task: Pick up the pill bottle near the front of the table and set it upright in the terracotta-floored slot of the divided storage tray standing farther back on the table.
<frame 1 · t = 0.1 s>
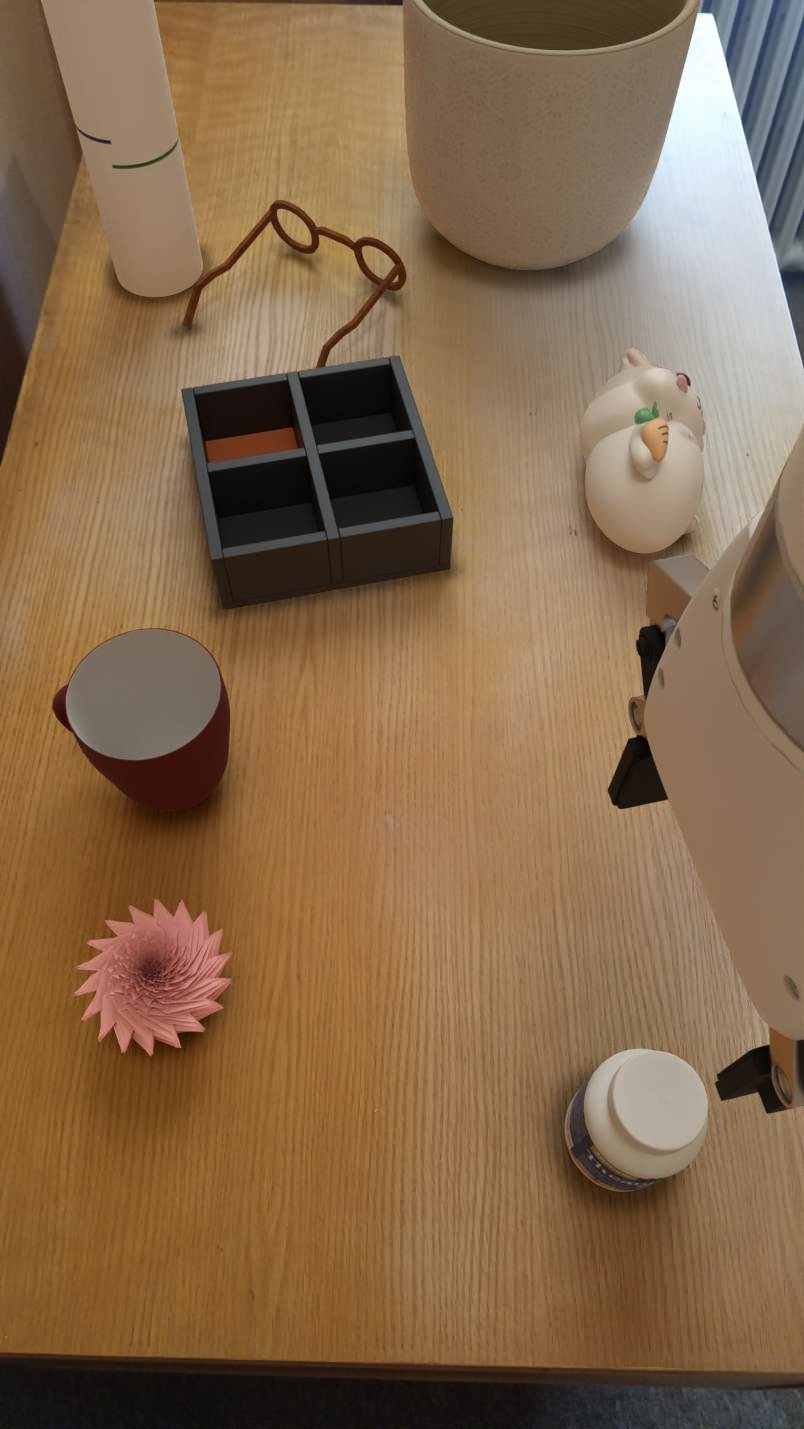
hand: (704, 925, 33), 23 cm above the table, tool pointing down, fingers open, 9 cm apart
white animal figurine: (632, 493, 72), on the table
divided storage tray: (316, 503, 71), on the table
planter: (522, 227, 87), on the table
pill bottle: (616, 1135, 51), on the table
cylindrical container: (160, 271, 84), on the table
mug: (161, 777, 61), on the table
flower: (168, 994, 54), on the table
glasses: (295, 316, 82), on the table
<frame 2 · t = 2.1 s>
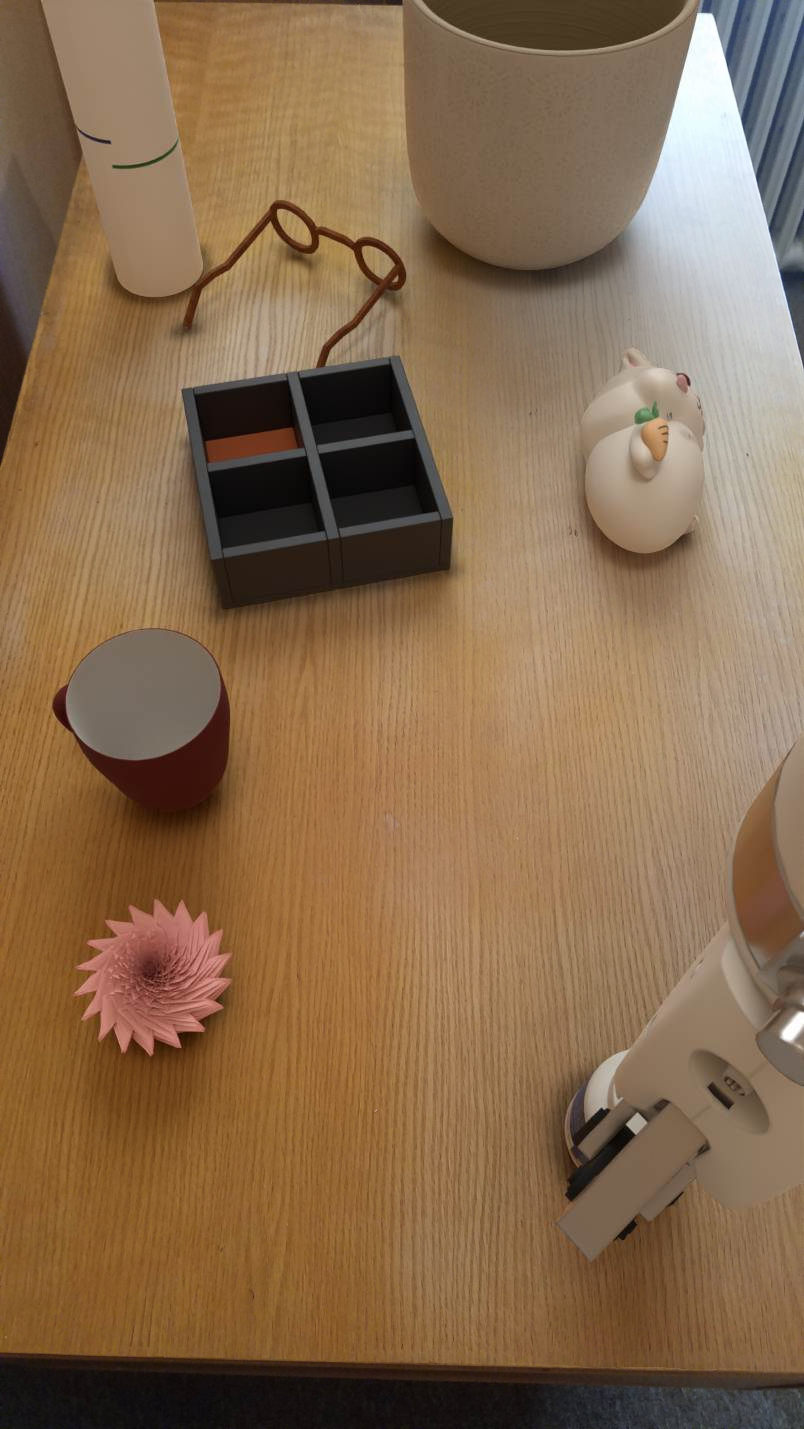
hand: (703, 1067, 35), 17 cm above the table, tool pointing down, fingers open, 9 cm apart
nothing on the table moved.
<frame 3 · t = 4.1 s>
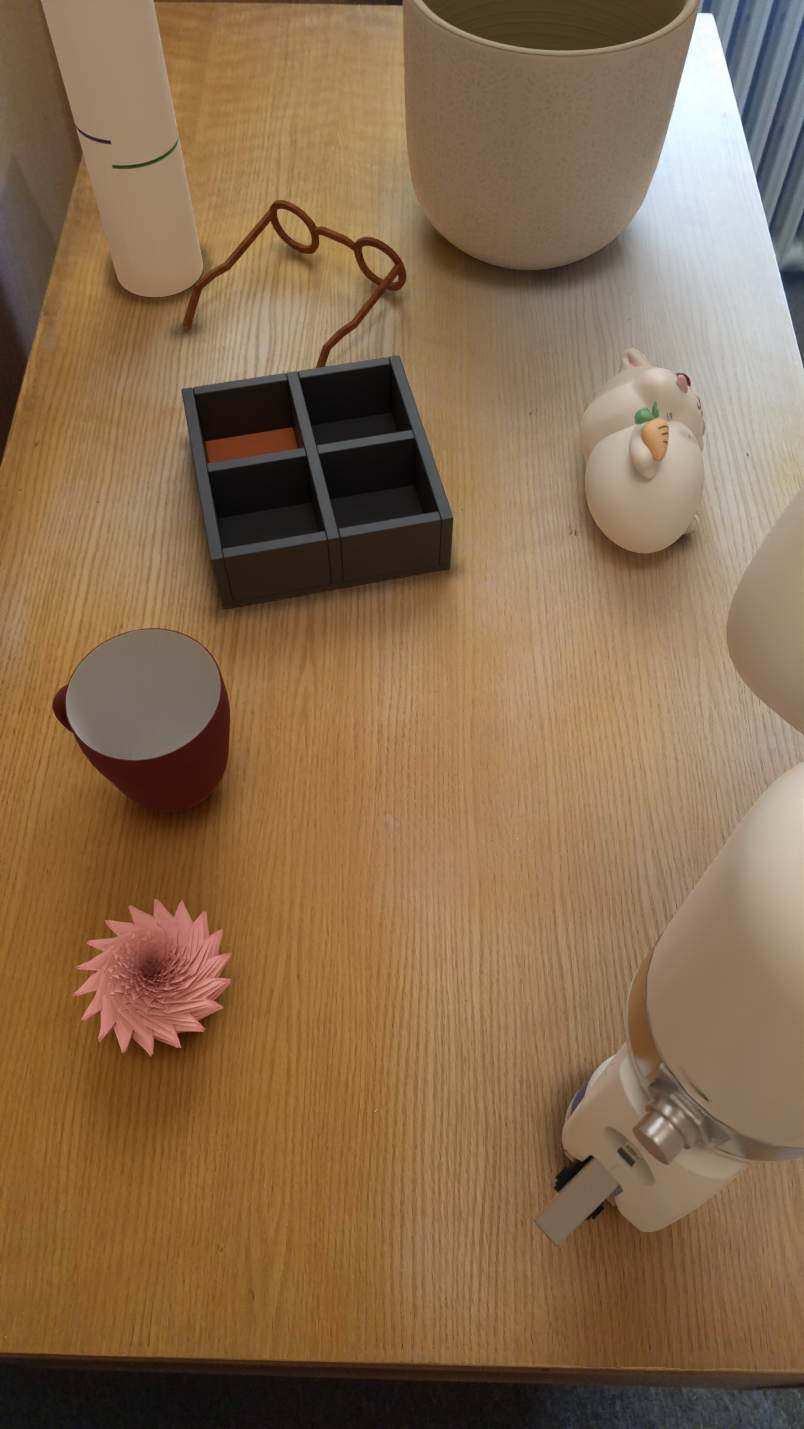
hand: (637, 1118, 46), 5 cm above the table, tool pointing down, fingers closed on pill bottle, 5 cm apart
pill bottle: (616, 1135, 51), on the table, touching gripper
everything else where it was.
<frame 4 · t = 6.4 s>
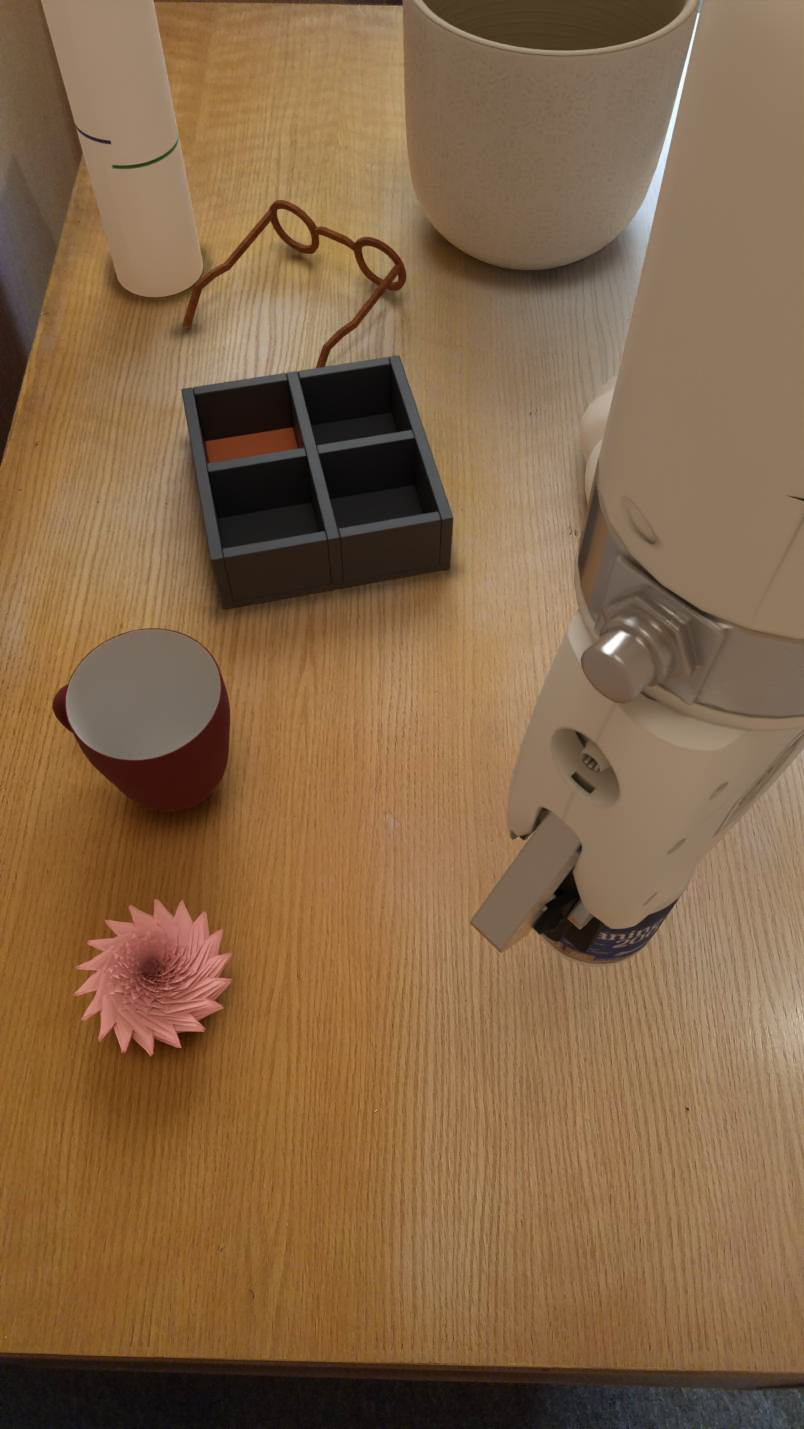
hand: (611, 860, 37), 19 cm above the table, tool pointing down, fingers closed on pill bottle, 5 cm apart
pill bottle: (590, 907, 42), point 14 cm above the table, touching gripper
everything else where it was.
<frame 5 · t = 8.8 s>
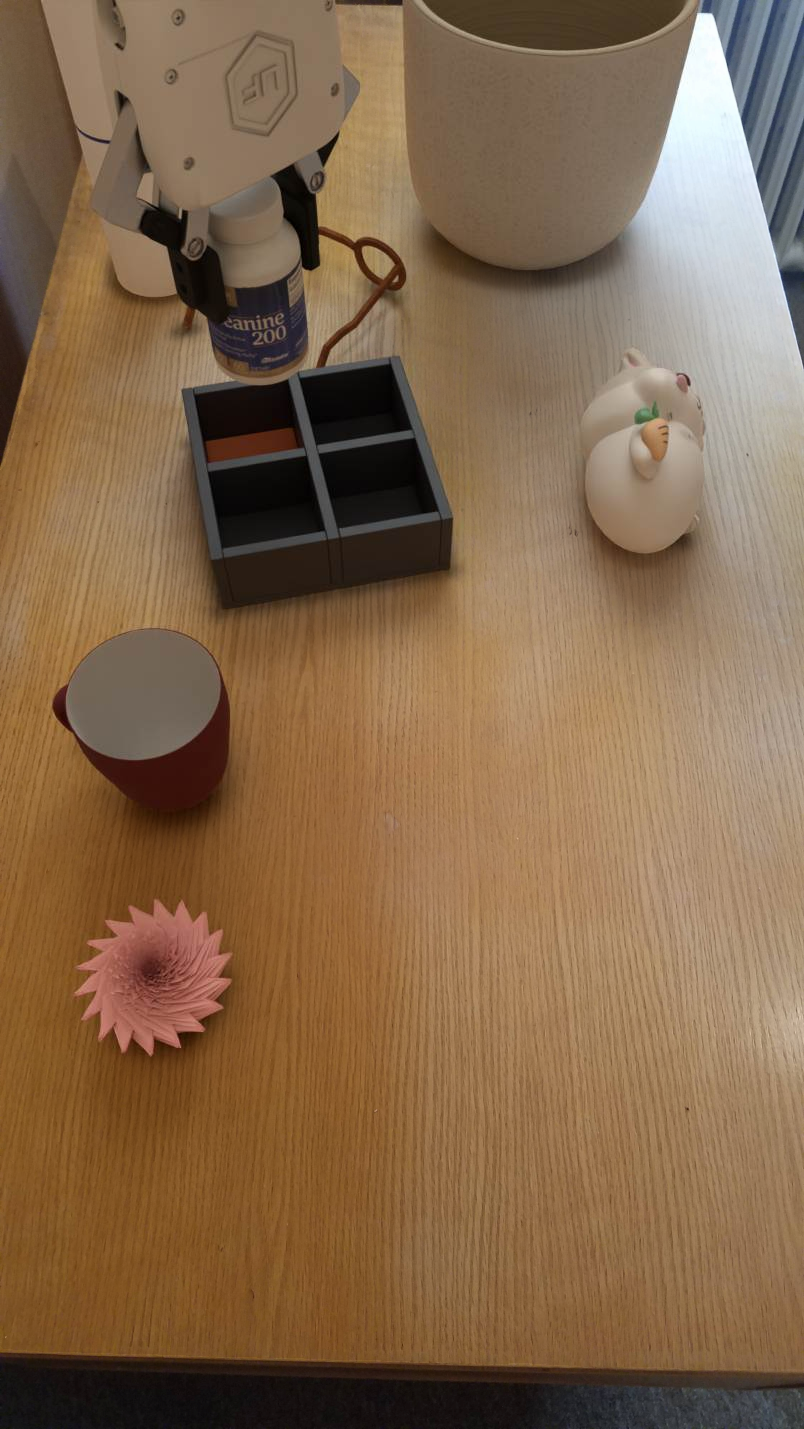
hand: (251, 280, 53), 20 cm above the table, tool pointing down, fingers closed on pill bottle, 5 cm apart
pill bottle: (263, 358, 58), point 15 cm above the table, touching gripper
everything else where it was.
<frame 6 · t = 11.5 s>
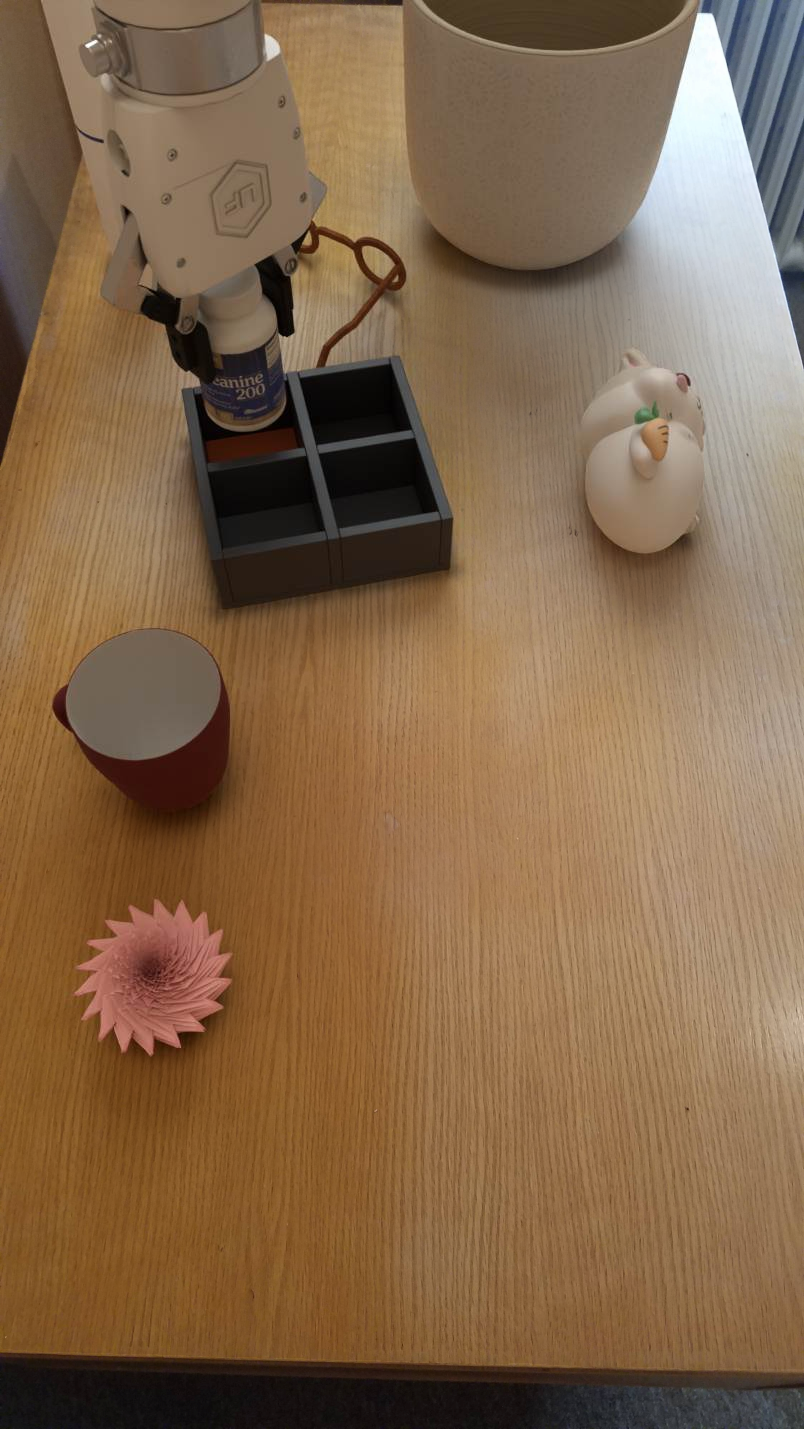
hand: (236, 345, 63), 11 cm above the table, tool pointing down, fingers closed on pill bottle, 5 cm apart
pill bottle: (246, 408, 67), point 6 cm above the table, touching gripper
everything else where it was.
when the fingers open (6 cm above the table, at t = 13.5 s): pill bottle stays where it is, resting on divided storage tray.
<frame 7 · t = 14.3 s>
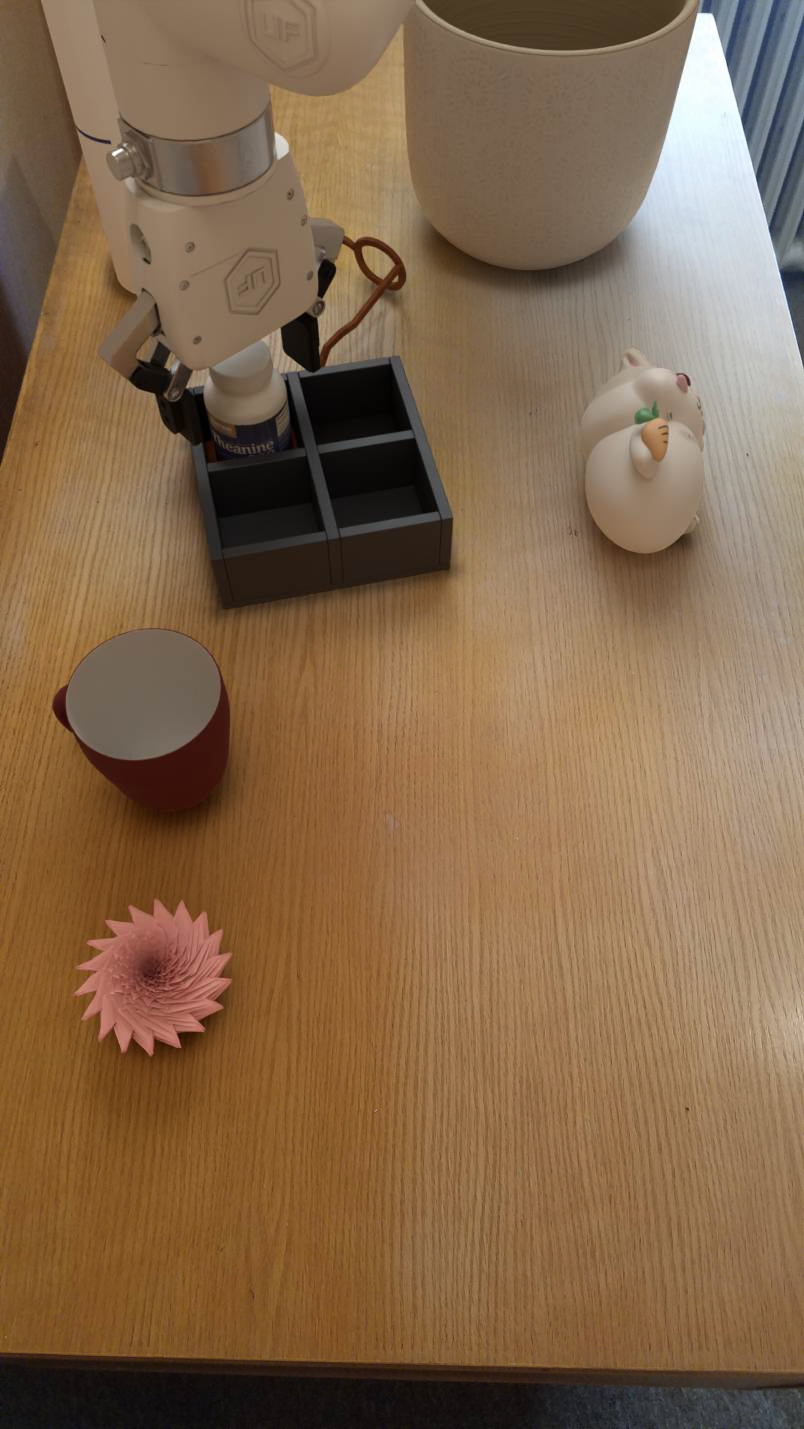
hand: (245, 396, 66), 7 cm above the table, tool pointing down, fingers open, 9 cm apart
pill bottle: (257, 468, 72), point 1 cm above the table, touching divided storage tray
everything else where it was.
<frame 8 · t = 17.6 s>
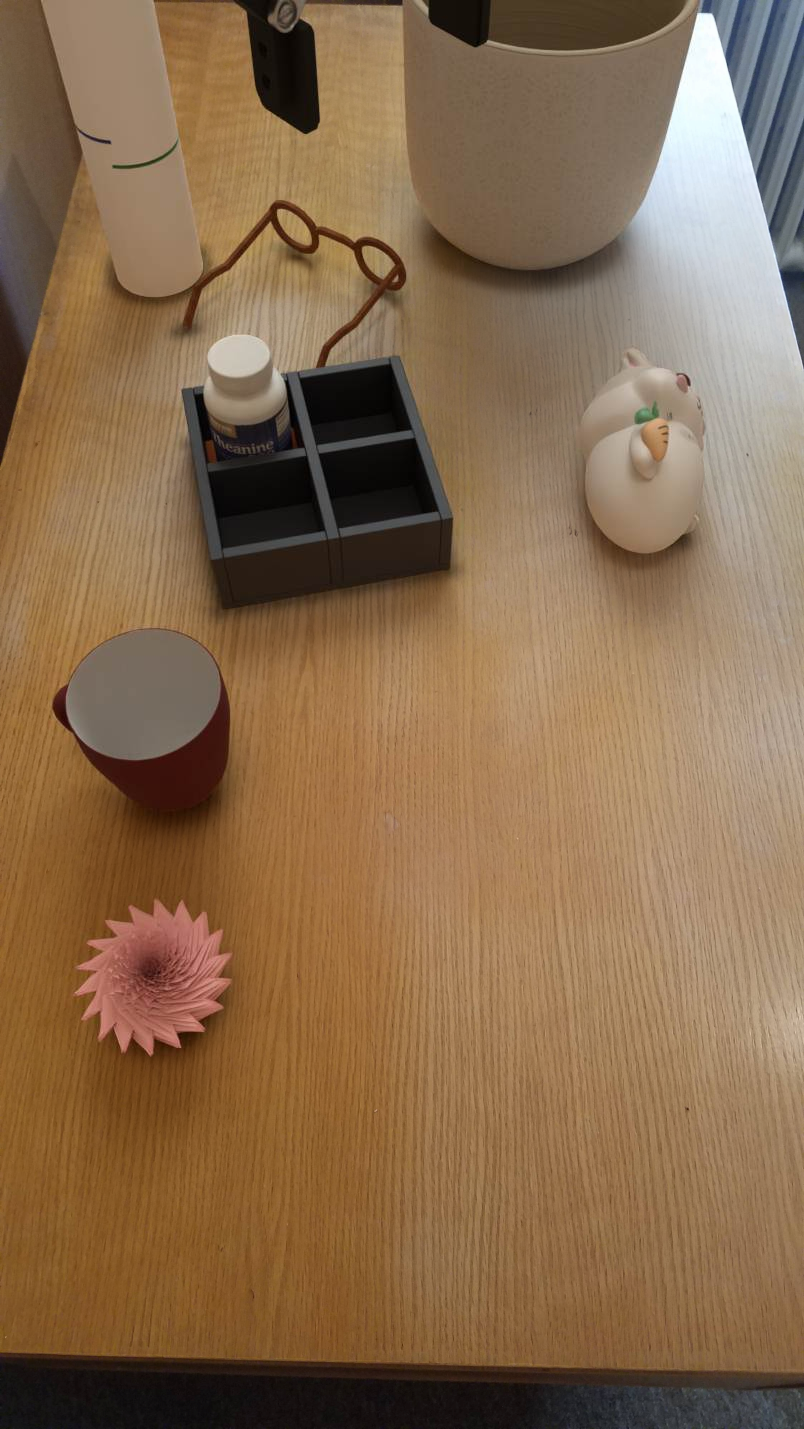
hand: (376, 74, 44), 30 cm above the table, tool pointing down, fingers open, 9 cm apart
nothing on the table moved.
at the end: pill bottle 0.1 cm from the target spot in the divided storage tray, point 0.6 cm above the divided storage tray's base; pill bottle tilted 0°; the gripper is holding nothing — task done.
